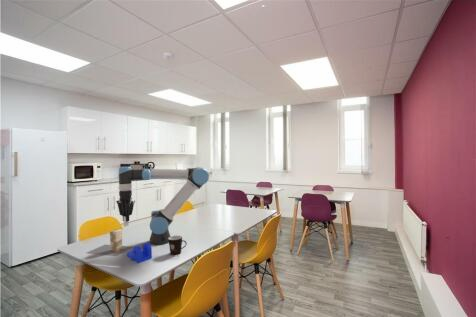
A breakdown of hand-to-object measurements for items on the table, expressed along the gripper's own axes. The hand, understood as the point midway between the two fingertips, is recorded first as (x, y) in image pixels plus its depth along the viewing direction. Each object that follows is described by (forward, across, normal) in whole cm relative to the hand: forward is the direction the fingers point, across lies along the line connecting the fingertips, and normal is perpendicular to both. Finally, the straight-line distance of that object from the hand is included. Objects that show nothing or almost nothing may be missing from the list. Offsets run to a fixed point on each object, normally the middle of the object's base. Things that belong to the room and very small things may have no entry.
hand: (126, 226), depth 155 cm
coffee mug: (+17, -35, -3) cm, 39 cm away
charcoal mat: (+17, +13, 0) cm, 22 cm away
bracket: (+18, -13, +6) cm, 23 cm away
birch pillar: (+17, +8, 0) cm, 18 cm away
